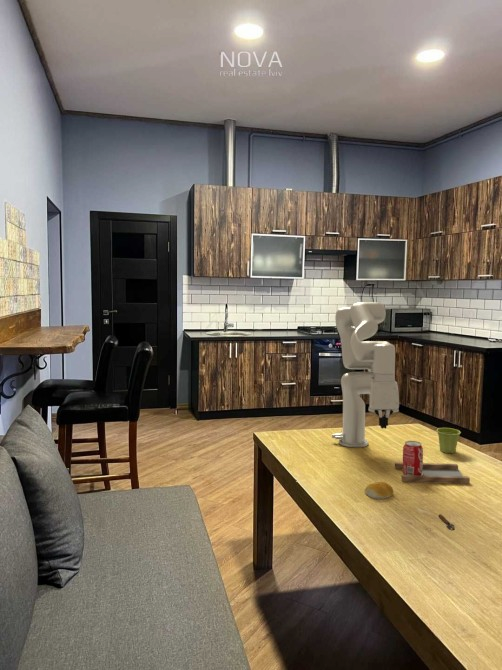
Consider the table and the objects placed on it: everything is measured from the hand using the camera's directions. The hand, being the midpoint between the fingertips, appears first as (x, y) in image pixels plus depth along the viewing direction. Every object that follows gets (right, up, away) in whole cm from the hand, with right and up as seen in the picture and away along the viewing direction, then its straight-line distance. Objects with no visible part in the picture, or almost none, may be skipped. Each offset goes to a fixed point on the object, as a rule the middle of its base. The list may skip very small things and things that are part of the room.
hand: (383, 427), depth 186 cm
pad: (+22, -18, +1) cm, 28 cm away
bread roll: (-5, -20, -15) cm, 26 cm away
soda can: (+11, -18, +1) cm, 21 cm away
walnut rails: (+17, -18, +1) cm, 25 cm away
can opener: (+9, -22, -36) cm, 43 cm away
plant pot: (+34, -15, +28) cm, 46 cm away
